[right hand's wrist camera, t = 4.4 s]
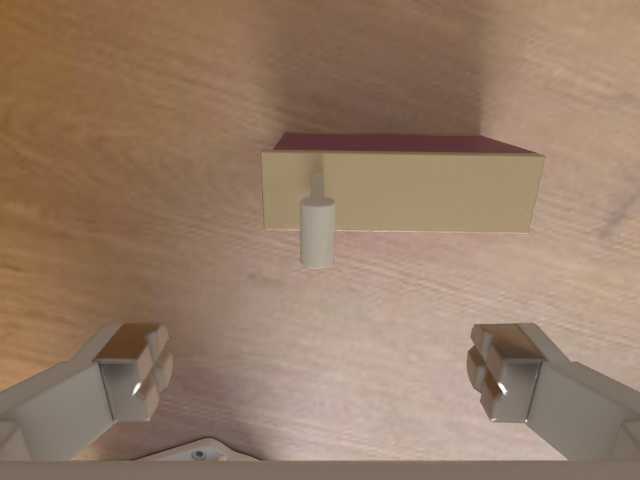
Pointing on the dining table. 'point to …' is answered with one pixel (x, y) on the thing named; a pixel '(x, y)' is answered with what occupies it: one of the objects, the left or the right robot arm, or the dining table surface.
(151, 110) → the dining table surface
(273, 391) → the dining table surface
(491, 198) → the lid
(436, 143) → the chest
